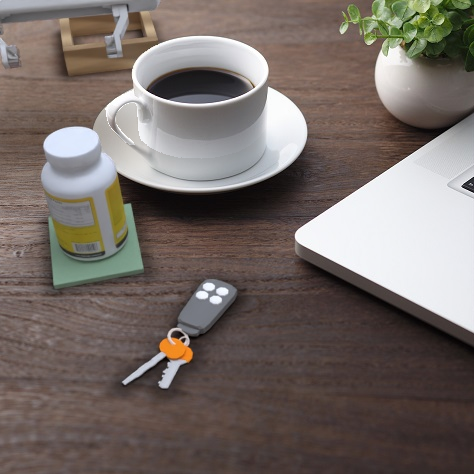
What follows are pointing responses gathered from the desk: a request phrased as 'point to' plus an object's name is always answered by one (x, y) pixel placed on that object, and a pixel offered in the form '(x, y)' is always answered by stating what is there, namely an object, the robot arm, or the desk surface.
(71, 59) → the brown shallow square frame
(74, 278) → the green mat
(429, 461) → the desk surface
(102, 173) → the pill bottle
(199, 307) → the key chain
